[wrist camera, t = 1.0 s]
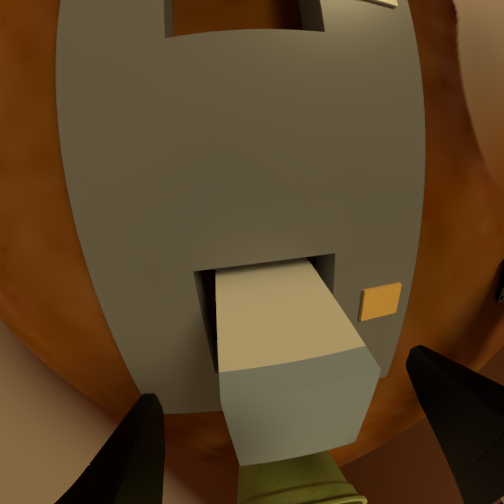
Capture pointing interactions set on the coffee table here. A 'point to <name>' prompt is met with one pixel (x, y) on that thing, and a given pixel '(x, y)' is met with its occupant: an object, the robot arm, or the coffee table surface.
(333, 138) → the panel board
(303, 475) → the plant pot
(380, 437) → the coffee table surface
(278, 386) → the plug
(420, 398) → the robot arm
